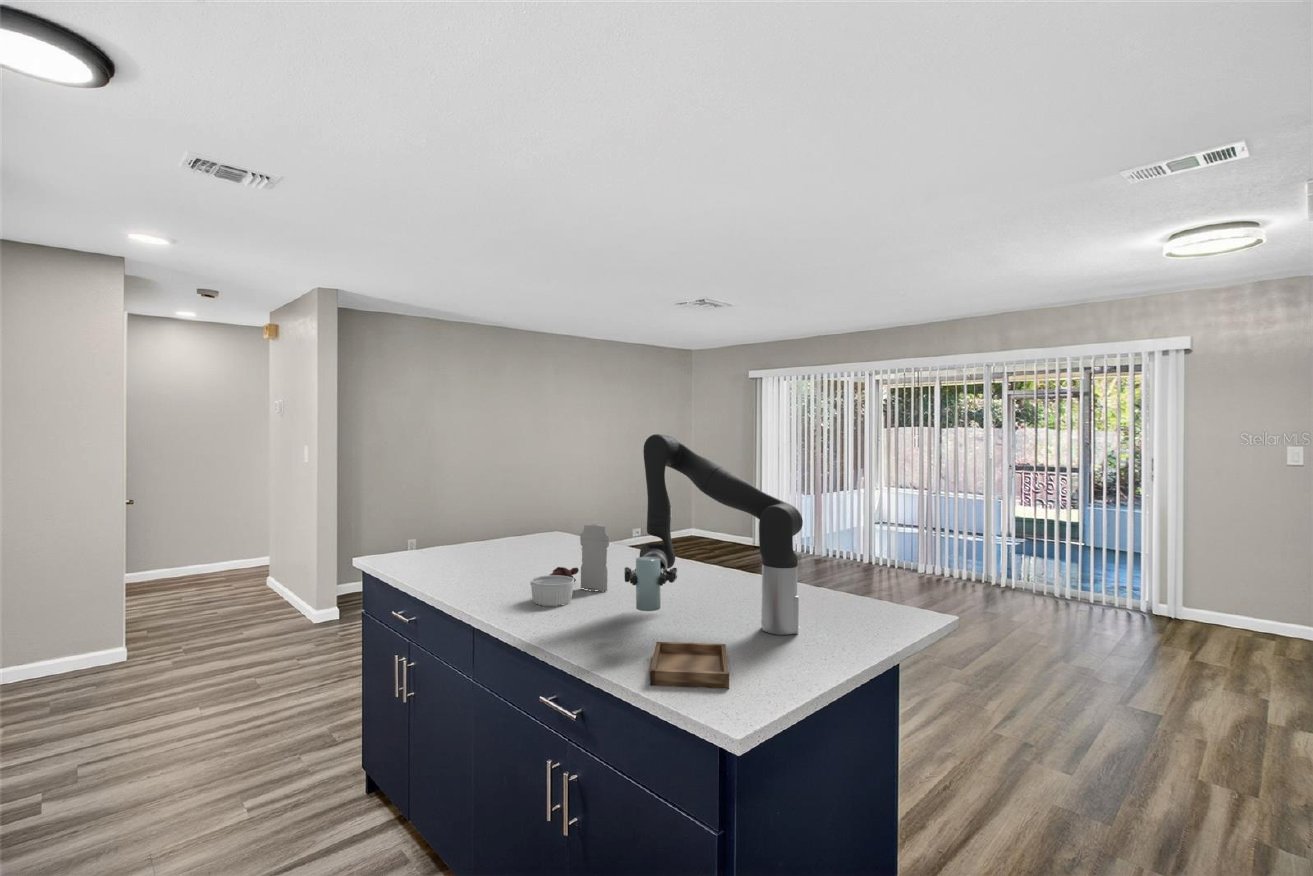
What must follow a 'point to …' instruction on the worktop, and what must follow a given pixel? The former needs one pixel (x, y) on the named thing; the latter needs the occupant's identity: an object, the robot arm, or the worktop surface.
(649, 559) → the pale blue cylinder
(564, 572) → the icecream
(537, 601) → the ramekin
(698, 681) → the tray
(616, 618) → the worktop surface
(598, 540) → the tall pale column
